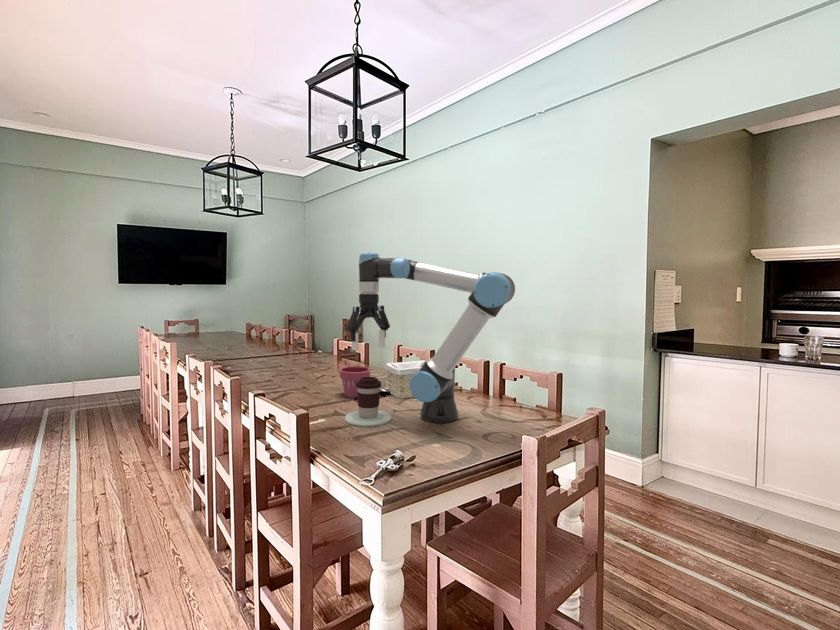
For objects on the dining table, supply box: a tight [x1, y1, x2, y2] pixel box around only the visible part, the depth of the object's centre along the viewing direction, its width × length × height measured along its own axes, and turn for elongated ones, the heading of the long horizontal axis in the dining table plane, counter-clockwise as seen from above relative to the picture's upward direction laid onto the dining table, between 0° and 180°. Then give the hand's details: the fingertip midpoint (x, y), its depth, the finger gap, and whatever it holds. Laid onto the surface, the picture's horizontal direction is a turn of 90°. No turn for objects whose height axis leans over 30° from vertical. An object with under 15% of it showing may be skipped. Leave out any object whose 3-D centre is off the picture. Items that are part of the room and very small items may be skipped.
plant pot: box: [339, 365, 371, 399], centre depth 210 cm, size 14×14×13 cm
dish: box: [344, 409, 392, 428], centre depth 175 cm, size 18×18×1 cm
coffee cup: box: [356, 376, 382, 418], centre depth 174 cm, size 10×10×15 cm
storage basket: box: [385, 359, 427, 400], centre depth 215 cm, size 24×16×15 cm
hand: (368, 348), depth 173 cm, fingers open, 13 cm apart
